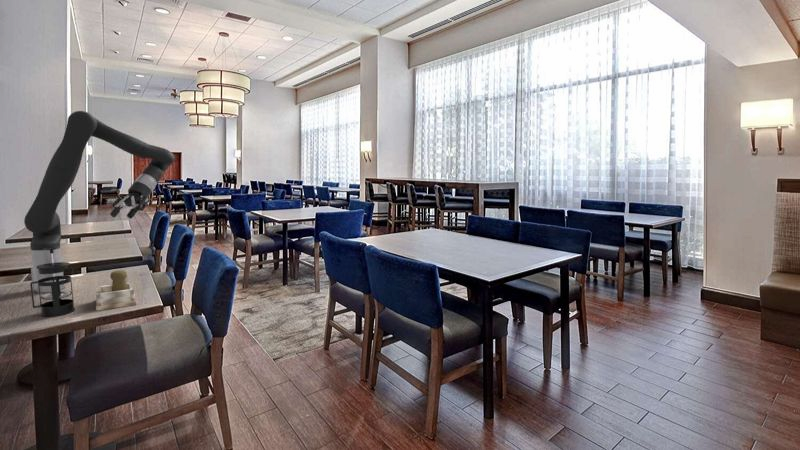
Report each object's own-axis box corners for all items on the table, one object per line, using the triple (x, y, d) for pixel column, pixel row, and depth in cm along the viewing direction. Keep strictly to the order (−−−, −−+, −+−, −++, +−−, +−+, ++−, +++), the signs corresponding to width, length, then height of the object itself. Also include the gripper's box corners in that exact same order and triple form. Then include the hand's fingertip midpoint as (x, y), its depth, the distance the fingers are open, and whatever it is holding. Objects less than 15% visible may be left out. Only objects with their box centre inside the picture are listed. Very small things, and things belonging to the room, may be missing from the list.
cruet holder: (96, 310, 149) (94, 295, 148) (97, 300, 160) (95, 286, 160) (136, 304, 156) (134, 290, 155) (134, 294, 167) (133, 281, 166)
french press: (77, 305, 154) (71, 243, 151) (77, 313, 147) (70, 248, 143) (35, 312, 147) (27, 247, 144) (32, 320, 140) (24, 252, 136)
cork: (121, 302, 154) (119, 273, 153) (106, 301, 155) (104, 272, 154) (134, 297, 160) (132, 269, 159) (120, 296, 161) (117, 268, 160)
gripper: (123, 180, 178) (100, 210, 169) (150, 181, 174) (128, 211, 165) (135, 192, 184) (113, 221, 175) (162, 193, 180) (140, 223, 171)
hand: (120, 216), depth 170 cm, fingers open, 8 cm apart
